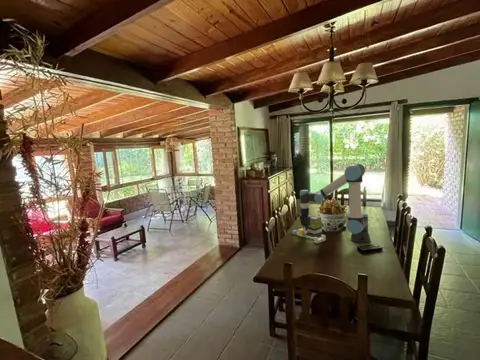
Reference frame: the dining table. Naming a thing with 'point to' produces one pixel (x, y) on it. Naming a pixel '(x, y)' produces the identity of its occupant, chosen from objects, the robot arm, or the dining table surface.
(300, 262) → the dining table surface
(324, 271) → the dining table surface
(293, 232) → the connector
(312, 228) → the tea box
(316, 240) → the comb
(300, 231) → the sleeve
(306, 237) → the cord
